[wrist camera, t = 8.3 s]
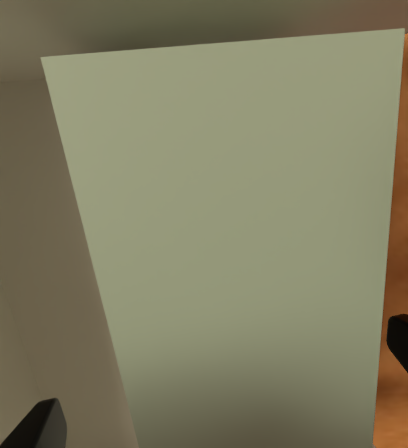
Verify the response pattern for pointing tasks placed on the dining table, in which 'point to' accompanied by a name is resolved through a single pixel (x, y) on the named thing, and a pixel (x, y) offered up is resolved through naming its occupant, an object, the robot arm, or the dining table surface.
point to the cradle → (65, 196)
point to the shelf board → (239, 230)
